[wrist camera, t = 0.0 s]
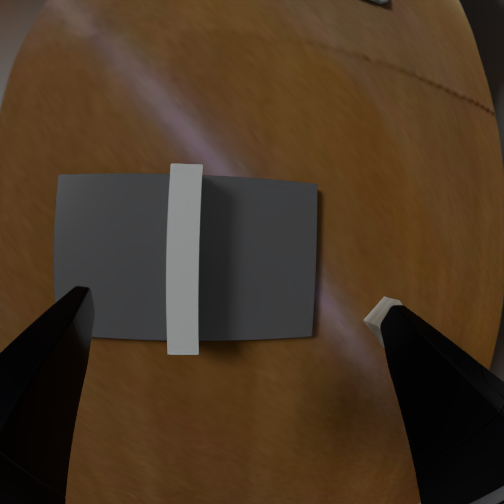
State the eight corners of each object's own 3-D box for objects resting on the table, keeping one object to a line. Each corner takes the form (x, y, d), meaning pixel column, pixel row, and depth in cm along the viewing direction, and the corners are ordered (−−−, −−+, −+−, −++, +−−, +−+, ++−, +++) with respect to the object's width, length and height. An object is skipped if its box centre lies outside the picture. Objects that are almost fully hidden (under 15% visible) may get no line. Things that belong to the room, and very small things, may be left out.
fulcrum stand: (307, 333, 25) (327, 347, 21) (62, 330, 20) (42, 345, 17) (312, 186, 24) (334, 176, 21) (63, 177, 20) (42, 165, 16)
